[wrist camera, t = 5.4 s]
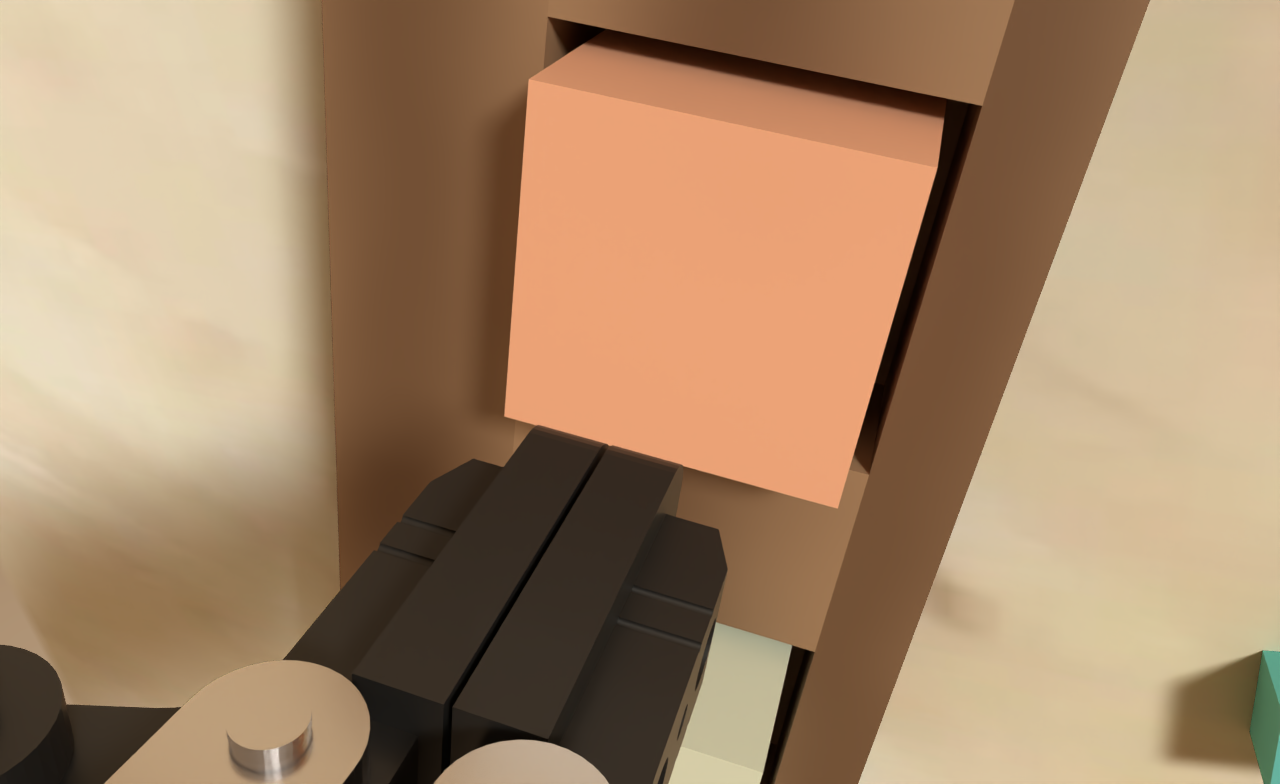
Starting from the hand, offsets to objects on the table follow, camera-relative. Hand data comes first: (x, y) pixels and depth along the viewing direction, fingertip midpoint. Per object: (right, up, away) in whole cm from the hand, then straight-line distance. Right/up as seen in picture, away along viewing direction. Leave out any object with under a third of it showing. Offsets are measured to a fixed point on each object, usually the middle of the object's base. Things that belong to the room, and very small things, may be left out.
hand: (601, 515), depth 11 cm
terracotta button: (+2, +4, +7) cm, 8 cm away
